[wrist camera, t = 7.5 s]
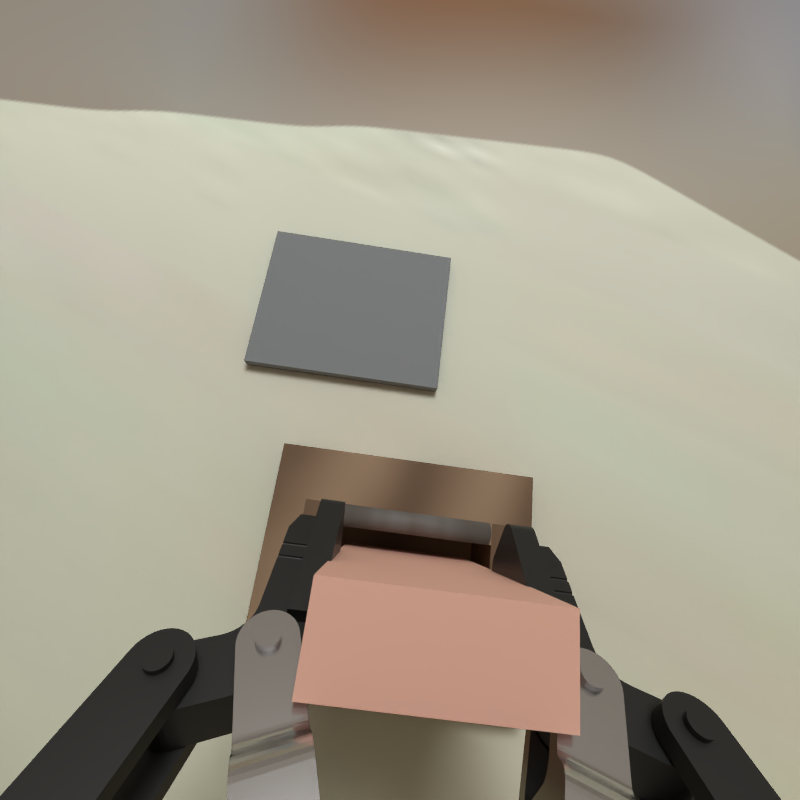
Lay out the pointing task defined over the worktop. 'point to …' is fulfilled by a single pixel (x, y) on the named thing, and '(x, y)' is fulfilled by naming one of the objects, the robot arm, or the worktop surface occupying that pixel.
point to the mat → (351, 312)
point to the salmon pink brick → (438, 642)
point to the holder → (395, 505)
